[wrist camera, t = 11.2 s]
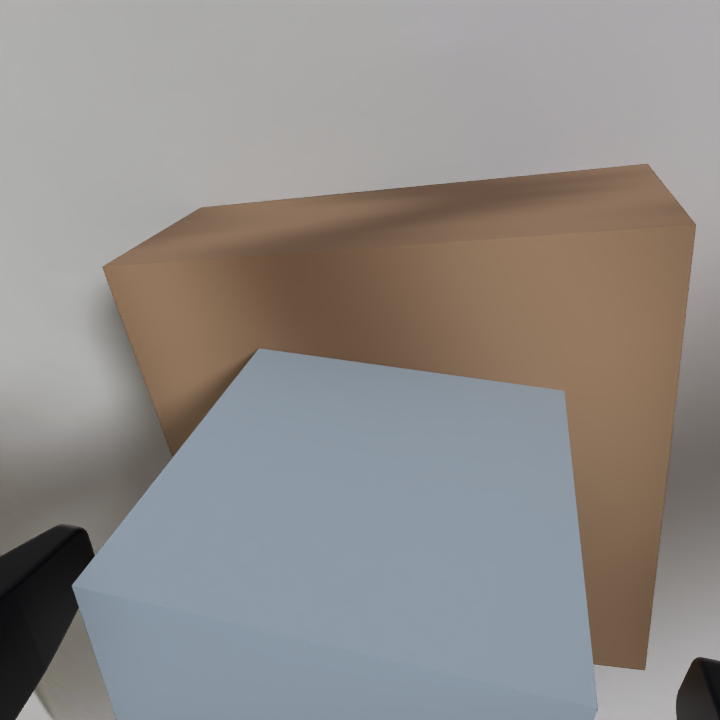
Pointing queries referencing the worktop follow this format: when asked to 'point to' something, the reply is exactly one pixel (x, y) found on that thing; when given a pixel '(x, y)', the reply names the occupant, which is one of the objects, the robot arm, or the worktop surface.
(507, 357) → the walnut block
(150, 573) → the slate cube
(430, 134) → the worktop surface
